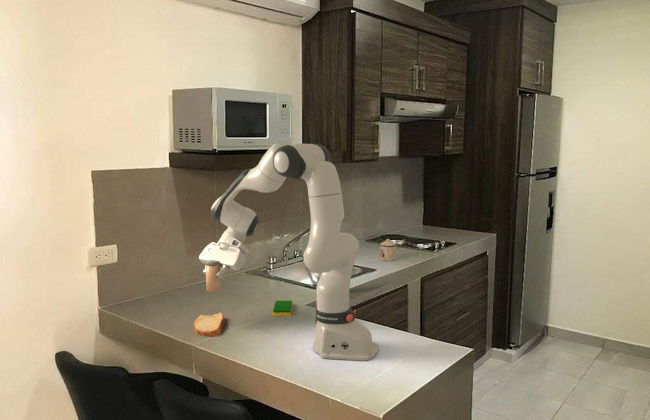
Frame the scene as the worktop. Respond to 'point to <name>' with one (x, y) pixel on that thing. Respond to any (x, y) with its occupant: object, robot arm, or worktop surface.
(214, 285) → the grey-capped jar
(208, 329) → the slice of bread
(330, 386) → the worktop surface
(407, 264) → the worktop surface
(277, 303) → the dish sponge
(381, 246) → the teacup with lid
